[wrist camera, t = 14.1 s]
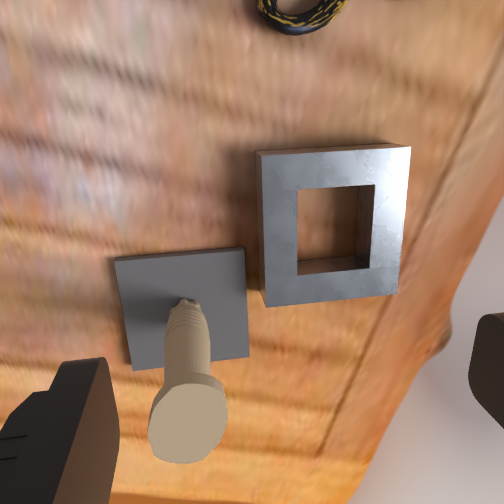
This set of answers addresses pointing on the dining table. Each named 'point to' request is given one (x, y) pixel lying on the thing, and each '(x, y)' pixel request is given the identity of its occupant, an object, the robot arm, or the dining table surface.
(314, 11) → the toy snake
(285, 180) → the holder
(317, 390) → the dining table surface
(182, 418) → the handle
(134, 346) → the mat
